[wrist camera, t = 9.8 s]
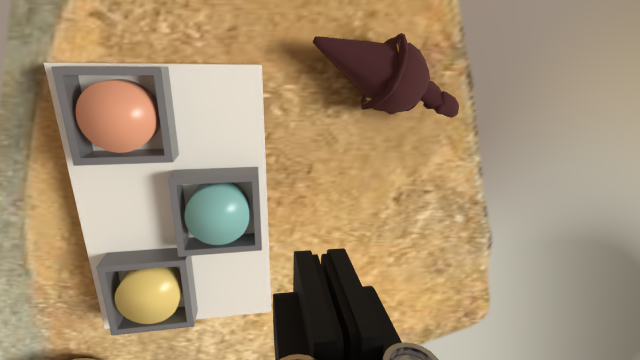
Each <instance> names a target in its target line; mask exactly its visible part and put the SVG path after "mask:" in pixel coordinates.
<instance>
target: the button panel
mask: <svg viewBox="0 0 640 360" xmlns="http://www.w3.org/2000/svg"><path fill="white" fill-rule="evenodd" d="M44 66H45V71H46V75H47V79H48V84H49V88H50V92H51V97H52V101H53V105H54V110H55V114H56V118H57V123H58V127H59V132H60V136H61V140H62V145H63V149H64V153H65V158H66V162H67V166H68V171H69V175H70V179H71V184H72V188H73V192H74V197H75V201H76V205H77V210H78V214H79V219H80V223H81V227H82V232H83V236H84V240H85V245H86V249H87V253H88V258H89V262H90V266H91V271H92V275H93V279H94V284H95V288H96V293H97V297H98V301H99V306H100V310H101V314H102V319H103V323H104V327H105V329H109V328H110V331H111V335H120V334H130V333H139V332H148V331H157V330H167V329H176V328H185V327H194V325H195V320H196V319H205V318H214V317H224V316H234V315H243V314H253V313H262V312H271V289H270V263H269V238H268V212H267V187H266V161H265V136H264V110H263V85H262V65H261V64H186V63H83V62H56V63H44ZM114 79H126V80H131V81H134V82H137V83H139V84H141V85H142V86H144V87H145V88H147V89H148V90H149V91H150V92H151V93H152V94H153V96H154V97H155V98H156V100H157V103H158V110H159V118H160V127H159V130H158V131H157V133H156V134H155V136H154V137H153V138H151V139H150V140H149V141H148V142H146V143H145V144H144V145H143V146H141V147H140V148H138V149H136V150H133V151H130V152H124V153H117V152H111V151H107V150H104V149H102V148H100V147H98V146H96V145H95V144H93V143H92V142H91V141H90V140H88V139H87V137H86V136H85V135H84V134H83V133H82V131H81V129H80V127H79V125H78V123H77V119H76V104H77V101H78V99H79V97H80V95H81V94H82V92H83V91H84V90H85V89H86V88H88V87H89V86H91V85H93V84H95V83H98V82H102V81H108V80H114ZM229 182H234V183H235V184H237V185H238V186H240V187H241V188H242V189H243V190H244V191H245V193H246V195H247V197H248V199H249V204H250V210H249V223H248V226H247V228H246V230H245V232H244V233H243V234H242V235H241V236H240V237H239V238H238V239H236V240H235V241H233V242H230V243H228V244H223V245H211V244H207V243H204V242H202V241H200V240H198V239H197V238H195V237H194V236H193V235H192V234H191V233H190V231H189V230H188V228H187V226H186V223H185V210H186V207H187V204H188V202H189V200H190V198H191V196H192V194H193V192H194V191H195V189H196V188H197V187H198V186H200V185H201V184H206V183H229ZM163 267H175V268H176V269H177V270H178V271H179V272H180V274H181V280H182V288H183V291H182V294H181V297H180V300H179V304H178V307H177V309H176V310H175V312H174V313H173V314H172V315H171V316H170V317H169V318H167V319H166V320H164V321H161V322H158V323H153V324H142V323H137V322H134V321H131V320H129V319H127V318H126V317H124V316H123V315H122V314H121V313H120V312H119V310H118V309H117V307H116V304H115V293H116V290H117V288H118V287H119V285H120V283H121V282H122V280H123V278H124V277H125V275H126V273H127V272H128V270H138V269H151V268H163Z"/></svg>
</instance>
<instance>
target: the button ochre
mask: <svg viewBox="0 0 640 360" xmlns="http://www.w3.org/2000/svg"><path fill="white" fill-rule="evenodd" d="M182 291H183V288H182V280H181V274H180V272H179V271H178V270H177V269H176V268H175V267H163V268H151V269H138V270H128V272H127V273H126V275H125V277H124V278H123V280H122V282H121V283H120V285H119V287H118V288H117V290H116V293H115V304H116V307H117V309H118V310H119V312H120V313H121V314H122V315H123V316H124V317H126V318H127V319H129V320H131V321H134V322H137V323H142V324H153V323H158V322H161V321H164V320H166V319H167V318H169V317H170V316H171V315H172V314H173V313H174V312H175V310H176V309H177V307H178V304H179V300H180V297H181V294H182Z"/></svg>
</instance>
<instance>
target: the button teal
mask: <svg viewBox="0 0 640 360" xmlns="http://www.w3.org/2000/svg"><path fill="white" fill-rule="evenodd" d="M249 210H250V204H249V199H248V197H247V195H246V193H245V191H244V190H243V189H242V188H241V187H240V186H238V185H237V184H235V183H234V182H229V183H206V184H201V185H200V186H198V187H197V188H196V189H195V191H194V192H193V194H192V196H191V198H190V200H189V202H188V204H187V207H186V210H185V223H186V226H187V228H188V230H189V231H190V233H191V234H192V235H193V236H194V237H195V238H197V239H198V240H200V241H202V242H204V243H207V244H211V245H223V244H228V243H230V242H233V241H235V240H236V239H238V238H239V237H240V236H241V235H242V234H243V233H244V232H245V230H246V228H247V226H248V223H249Z"/></svg>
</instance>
